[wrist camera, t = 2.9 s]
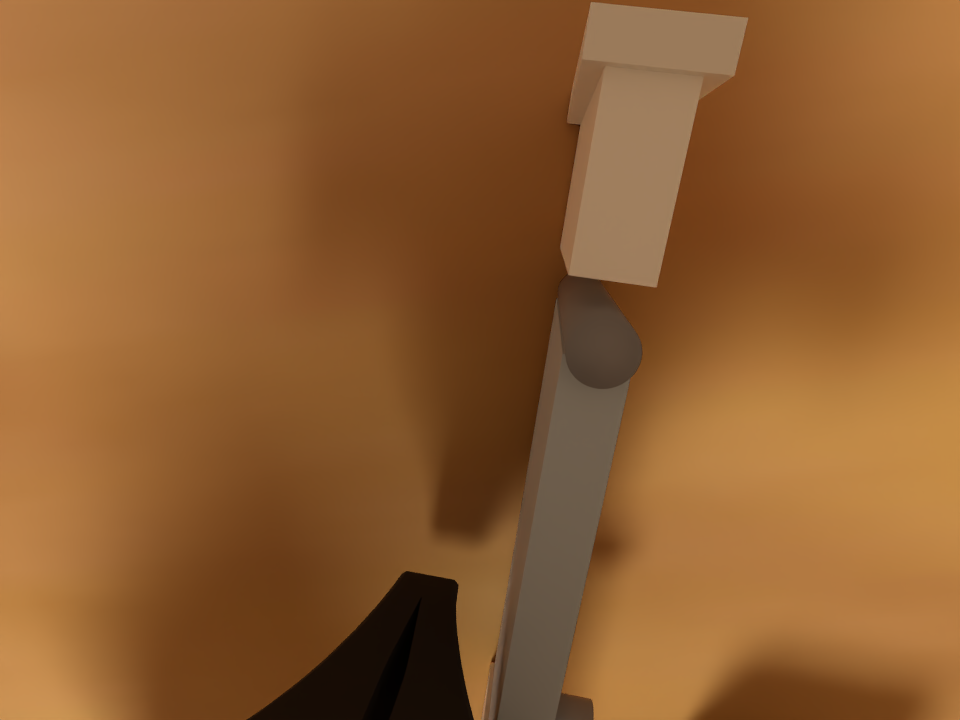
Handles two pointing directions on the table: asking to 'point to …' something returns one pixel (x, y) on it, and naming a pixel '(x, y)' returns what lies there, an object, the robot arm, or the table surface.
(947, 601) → the table surface
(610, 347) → the door
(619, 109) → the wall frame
